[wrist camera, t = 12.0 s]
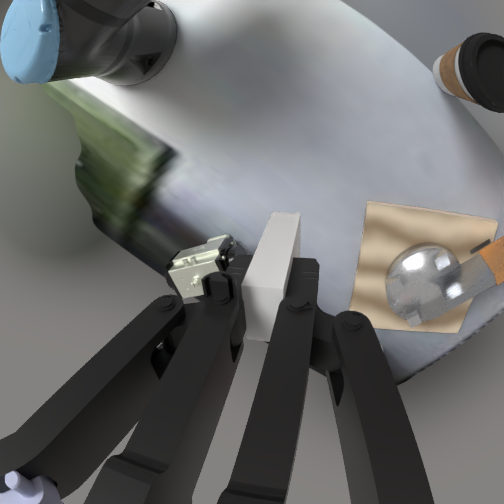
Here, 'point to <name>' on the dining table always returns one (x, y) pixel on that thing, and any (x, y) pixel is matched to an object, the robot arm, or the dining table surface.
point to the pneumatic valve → (200, 264)
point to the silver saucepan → (439, 279)
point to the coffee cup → (474, 71)
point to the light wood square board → (399, 239)
